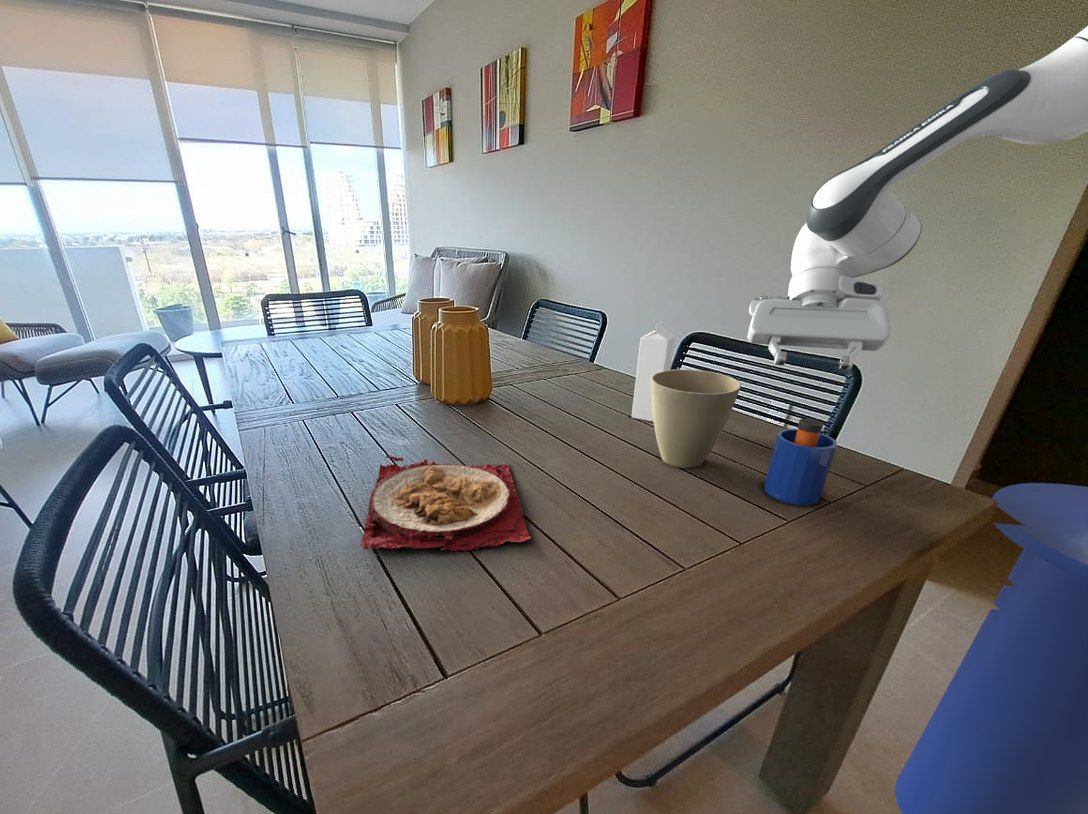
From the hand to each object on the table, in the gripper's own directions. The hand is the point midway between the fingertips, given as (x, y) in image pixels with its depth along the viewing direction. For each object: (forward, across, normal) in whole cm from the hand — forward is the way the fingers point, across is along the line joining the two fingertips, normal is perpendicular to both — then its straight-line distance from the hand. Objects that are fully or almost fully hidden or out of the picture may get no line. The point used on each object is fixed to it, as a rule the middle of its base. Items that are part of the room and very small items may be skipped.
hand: (812, 365), depth 80 cm
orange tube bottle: (+20, 0, +6) cm, 21 cm away
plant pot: (+16, -18, +12) cm, 27 cm away
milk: (0, -26, +28) cm, 38 cm away
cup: (+20, 0, +7) cm, 22 cm away
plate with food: (+38, -52, -10) cm, 65 cm away
